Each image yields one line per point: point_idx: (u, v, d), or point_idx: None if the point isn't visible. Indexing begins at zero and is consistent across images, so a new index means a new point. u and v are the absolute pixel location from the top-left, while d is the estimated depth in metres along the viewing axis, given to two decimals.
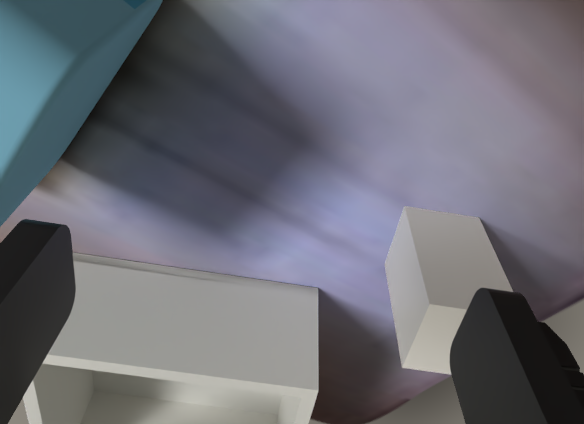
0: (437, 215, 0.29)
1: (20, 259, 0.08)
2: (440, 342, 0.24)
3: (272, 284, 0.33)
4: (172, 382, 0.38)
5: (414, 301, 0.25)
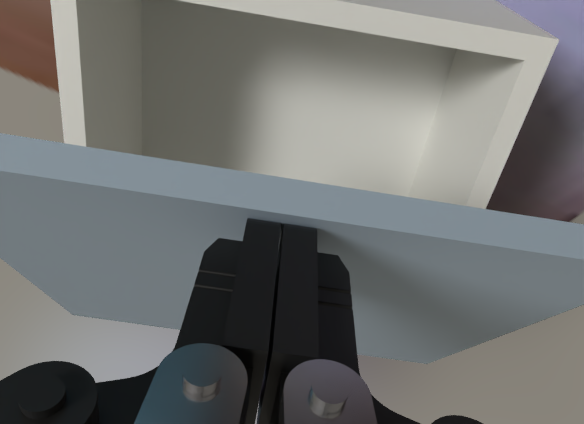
0: None
1: (266, 253, 0.09)
2: None
3: None
4: None
5: None
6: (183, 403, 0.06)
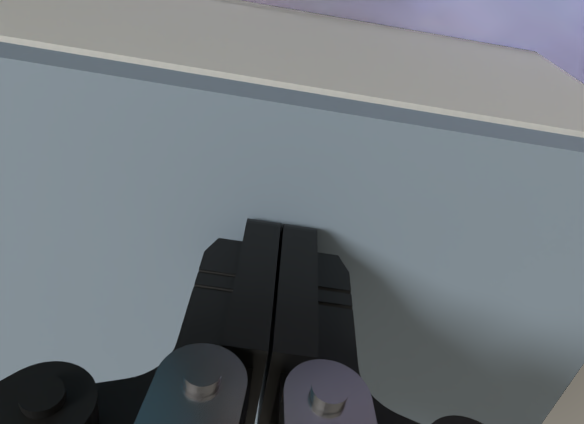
0: None
1: (266, 253, 0.09)
2: None
3: (451, 38, 0.17)
4: None
5: None
6: (183, 403, 0.06)
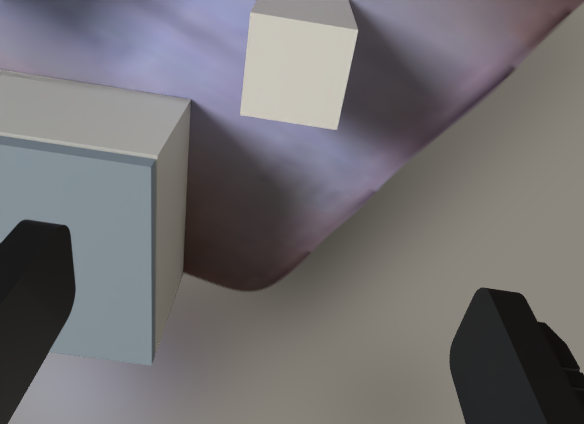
0: None
1: (20, 259, 0.08)
2: (273, 73, 0.22)
3: (140, 93, 0.31)
4: None
5: None
6: None
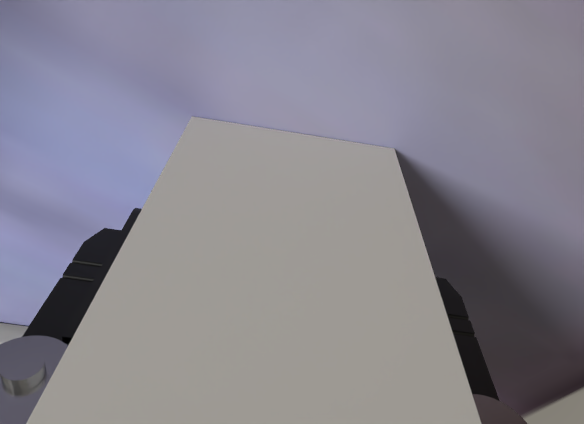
0: (276, 139, 0.11)
1: None
2: None
3: None
4: None
5: None
6: None
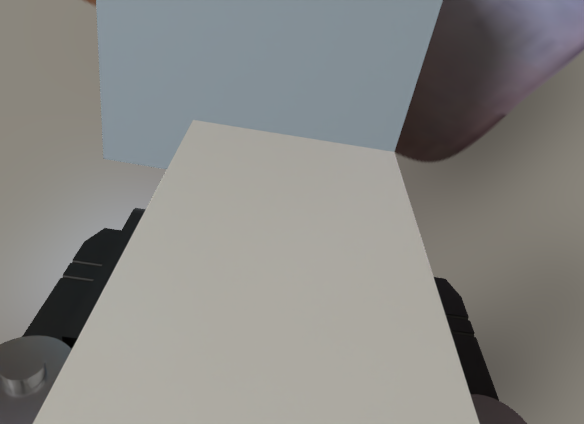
0: (277, 142, 0.11)
1: None
2: None
3: None
4: None
5: None
6: None
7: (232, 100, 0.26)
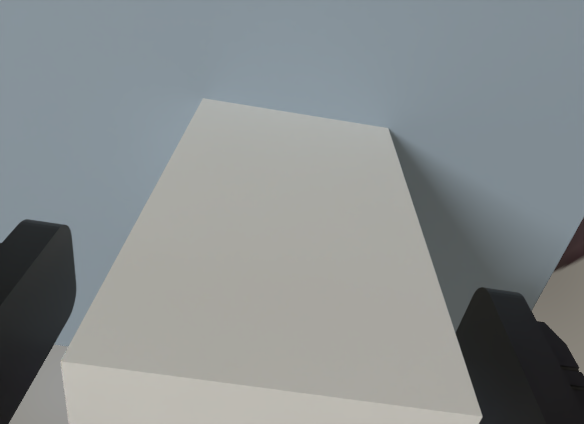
0: (280, 118, 0.12)
1: (21, 259, 0.08)
2: None
3: None
4: None
5: None
6: None
7: None
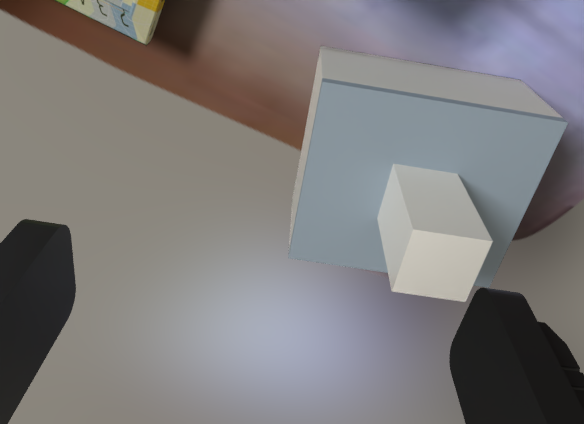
0: (421, 171, 0.34)
1: (20, 259, 0.08)
2: (423, 265, 0.29)
3: (484, 74, 0.39)
4: None
5: (401, 234, 0.30)
6: None
7: None
